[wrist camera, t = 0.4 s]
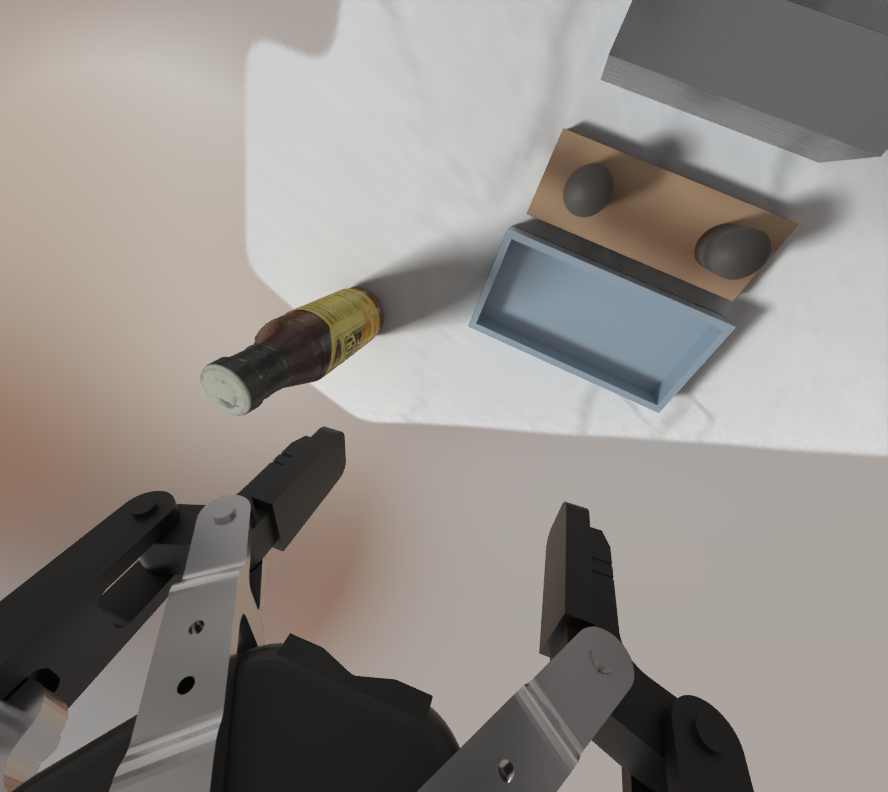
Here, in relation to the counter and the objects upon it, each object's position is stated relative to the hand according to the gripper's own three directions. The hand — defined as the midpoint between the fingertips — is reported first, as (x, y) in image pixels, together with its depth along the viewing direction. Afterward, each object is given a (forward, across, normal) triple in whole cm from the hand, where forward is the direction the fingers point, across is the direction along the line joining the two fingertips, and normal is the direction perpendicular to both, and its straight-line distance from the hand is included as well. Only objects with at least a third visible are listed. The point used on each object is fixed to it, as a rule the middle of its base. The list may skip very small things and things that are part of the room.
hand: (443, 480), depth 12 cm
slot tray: (+26, -6, +1) cm, 27 cm away
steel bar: (+27, -10, -16) cm, 33 cm away
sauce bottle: (+26, +17, +6) cm, 32 cm away
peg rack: (+26, -8, -8) cm, 29 cm away
